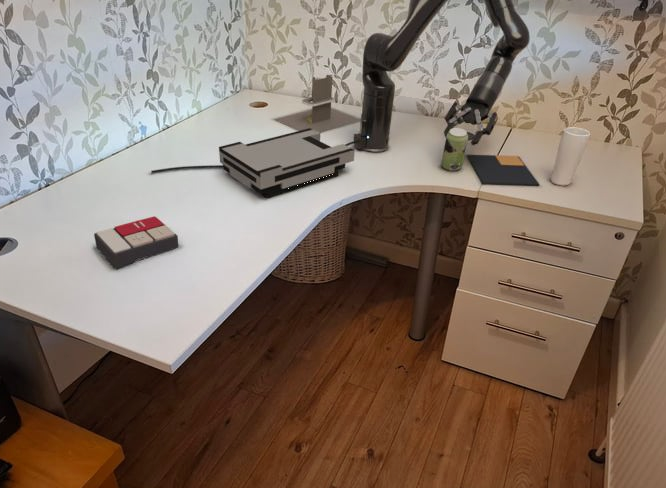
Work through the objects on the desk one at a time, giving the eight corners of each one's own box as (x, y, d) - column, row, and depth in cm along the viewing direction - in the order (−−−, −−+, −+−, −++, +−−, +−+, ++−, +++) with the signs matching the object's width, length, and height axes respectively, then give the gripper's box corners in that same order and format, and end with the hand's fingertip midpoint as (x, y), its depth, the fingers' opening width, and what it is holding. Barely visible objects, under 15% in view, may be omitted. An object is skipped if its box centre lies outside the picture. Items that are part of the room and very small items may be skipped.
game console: (352, 172, 154) (355, 145, 149) (261, 202, 138) (260, 173, 133) (309, 149, 167) (309, 124, 162) (221, 174, 151) (218, 146, 146)
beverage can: (459, 164, 161) (467, 125, 153) (463, 174, 155) (471, 134, 148) (438, 163, 161) (446, 124, 154) (441, 173, 155) (449, 133, 148)
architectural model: (273, 119, 189) (273, 76, 180) (325, 105, 202) (327, 65, 193) (309, 135, 177) (311, 90, 168) (362, 120, 190) (366, 78, 182)
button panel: (178, 232, 118) (112, 251, 110) (179, 249, 120) (115, 269, 112) (155, 213, 125) (92, 230, 116) (157, 229, 127) (95, 247, 119)
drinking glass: (571, 179, 154) (589, 128, 145) (573, 189, 149) (591, 137, 140) (547, 175, 155) (563, 125, 146) (547, 185, 150) (564, 133, 141)
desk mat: (482, 184, 150) (482, 181, 149) (466, 156, 166) (467, 153, 165) (538, 186, 150) (539, 183, 149) (518, 157, 166) (518, 155, 165)
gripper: (510, 104, 154) (483, 153, 154) (466, 94, 161) (440, 140, 161) (507, 89, 147) (479, 140, 147) (461, 79, 155) (434, 127, 155)
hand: (459, 140), depth 154 cm, fingers open, 8 cm apart
